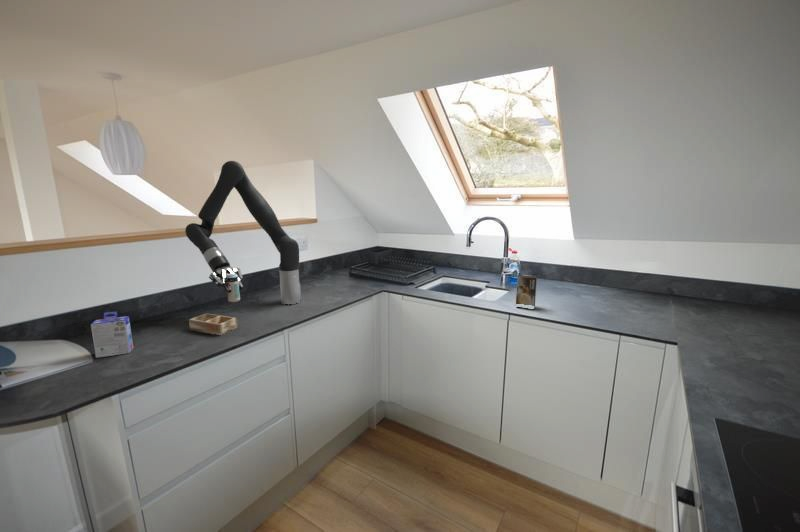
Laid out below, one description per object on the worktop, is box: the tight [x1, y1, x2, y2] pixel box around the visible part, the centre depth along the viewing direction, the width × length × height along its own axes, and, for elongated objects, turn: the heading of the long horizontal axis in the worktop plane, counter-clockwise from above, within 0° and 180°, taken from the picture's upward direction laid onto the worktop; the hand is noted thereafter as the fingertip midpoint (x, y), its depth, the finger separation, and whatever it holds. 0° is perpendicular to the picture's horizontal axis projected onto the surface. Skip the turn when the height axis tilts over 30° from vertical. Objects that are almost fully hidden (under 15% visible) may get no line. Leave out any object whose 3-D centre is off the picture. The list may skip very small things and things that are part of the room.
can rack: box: [188, 312, 238, 336], centre depth 150 cm, size 9×16×4 cm, turn 70°
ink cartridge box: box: [90, 310, 134, 358], centre depth 127 cm, size 10×6×14 cm, turn 115°
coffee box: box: [515, 273, 538, 307], centre depth 181 cm, size 9×6×16 cm
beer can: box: [226, 272, 241, 303], centre depth 159 cm, size 5×5×12 cm
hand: (235, 290), depth 158 cm, fingers closed on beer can, 4 cm apart
